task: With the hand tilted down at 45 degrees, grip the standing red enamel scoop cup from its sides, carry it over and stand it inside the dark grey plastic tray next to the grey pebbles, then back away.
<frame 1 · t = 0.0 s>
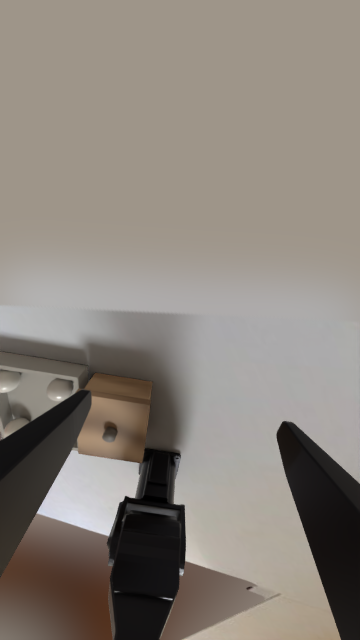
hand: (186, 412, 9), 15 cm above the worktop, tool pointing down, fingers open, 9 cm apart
pebble c: (25, 420, 30), point 1 cm above the worktop, touching tray
lidded box: (122, 404, 29), on the worktop
tray: (48, 397, 29), on the worktop
pebble a: (15, 373, 26), point 1 cm above the worktop, touching tray
pebble b: (67, 381, 26), point 1 cm above the worktop, touching tray
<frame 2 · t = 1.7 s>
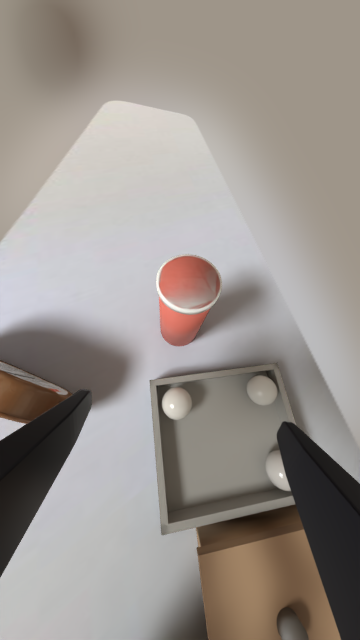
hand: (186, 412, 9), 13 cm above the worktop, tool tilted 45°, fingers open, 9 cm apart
pebble c: (176, 402, 21), point 1 cm above the worktop, touching tray
lidded box: (258, 569, 17), on the worktop
scoop cup: (178, 328, 25), on the worktop
tray: (221, 430, 21), on the worktop
pebble a: (255, 390, 22), point 1 cm above the worktop, touching tray
tin: (21, 380, 21), on the worktop
pebble b: (274, 464, 19), point 1 cm above the worktop, touching tray
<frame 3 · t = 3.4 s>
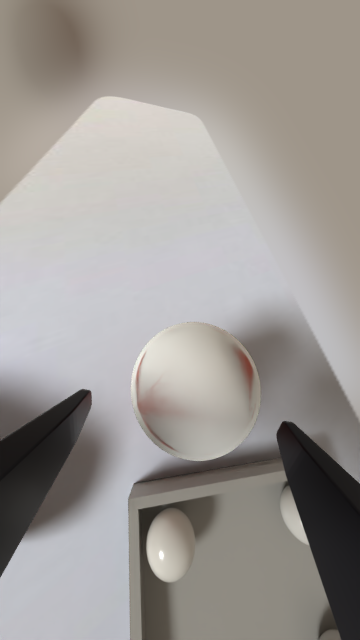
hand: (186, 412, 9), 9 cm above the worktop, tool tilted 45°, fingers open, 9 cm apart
pebble c: (170, 526, 13), point 1 cm above the worktop, touching tray
scoop cup: (177, 393, 17), on the worktop
tray: (240, 573, 13), on the worktop
pebble a: (291, 502, 14), point 1 cm above the worktop, touching tray
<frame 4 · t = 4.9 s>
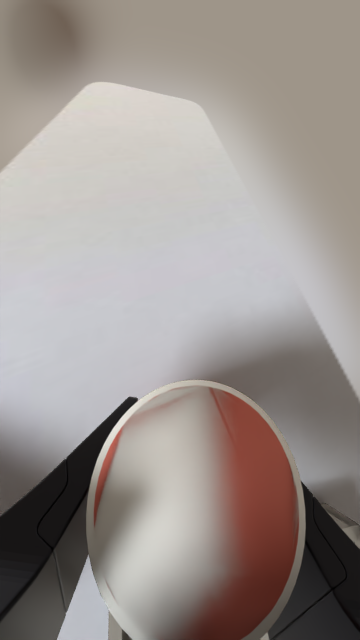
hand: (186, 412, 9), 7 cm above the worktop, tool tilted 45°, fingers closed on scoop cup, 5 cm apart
scoop cup: (174, 426, 15), on the worktop, touching gripper
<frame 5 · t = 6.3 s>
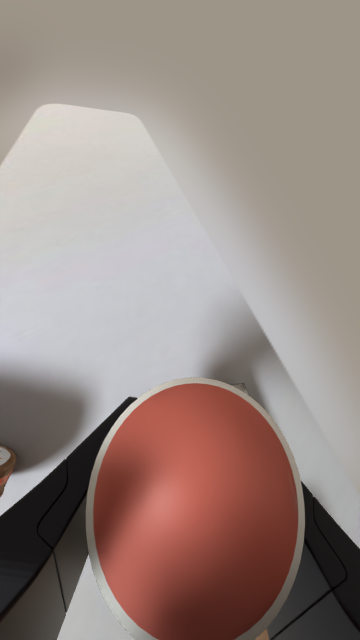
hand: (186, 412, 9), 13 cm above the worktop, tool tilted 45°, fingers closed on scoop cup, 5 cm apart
scoop cup: (174, 425, 15), point 6 cm above the worktop, touching gripper
when the fingers open (8 cm above the worktop, at t = 8.0 s): scoop cup drops 1 cm, resting on tray.
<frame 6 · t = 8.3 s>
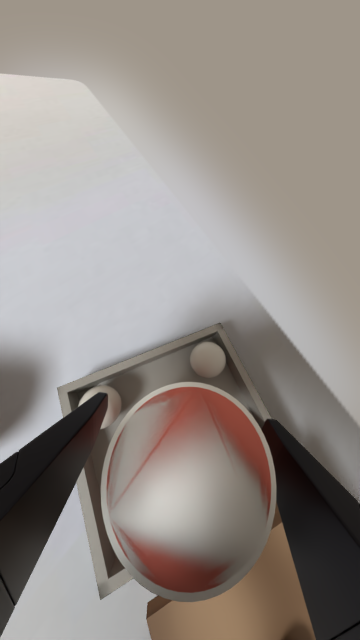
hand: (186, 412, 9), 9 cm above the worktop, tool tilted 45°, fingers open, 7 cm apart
pebble c: (106, 405, 16), point 1 cm above the worktop, touching tray
lidded box: (249, 583, 13), on the worktop
scoop cup: (173, 425, 16), point 1 cm above the worktop, touching tray
tray: (173, 423, 16), on the worktop
pebble a: (204, 362, 18), point 1 cm above the worktop, touching tray
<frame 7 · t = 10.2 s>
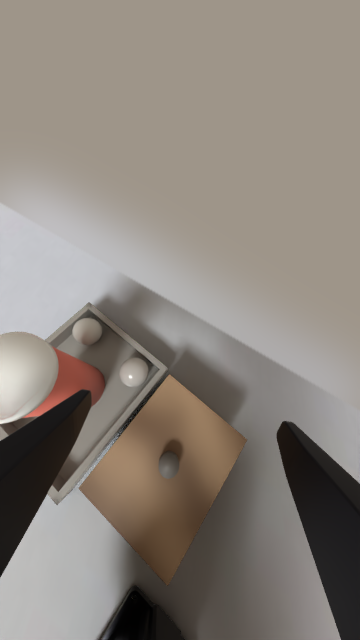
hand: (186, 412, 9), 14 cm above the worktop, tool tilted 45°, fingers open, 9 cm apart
lidded box: (167, 449, 20), on the worktop
scoop cup: (82, 386, 21), point 1 cm above the worktop, touching tray
tray: (85, 386, 21), on the worktop
pebble a: (92, 335, 23), point 1 cm above the worktop, touching tray
pebble b: (136, 373, 22), point 1 cm above the worktop, touching tray
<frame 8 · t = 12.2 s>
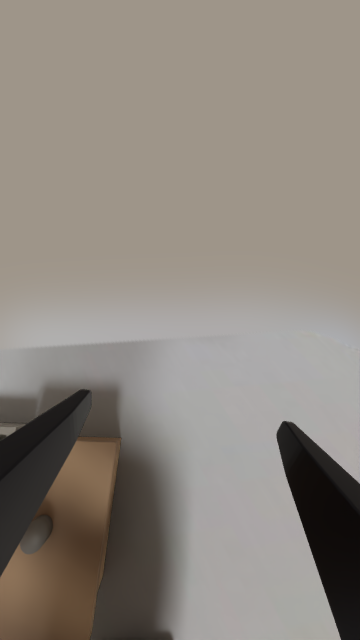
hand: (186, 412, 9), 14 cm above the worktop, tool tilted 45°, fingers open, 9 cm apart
lidded box: (68, 499, 18), on the worktop
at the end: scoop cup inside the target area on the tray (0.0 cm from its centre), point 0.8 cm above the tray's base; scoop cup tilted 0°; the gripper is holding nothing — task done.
